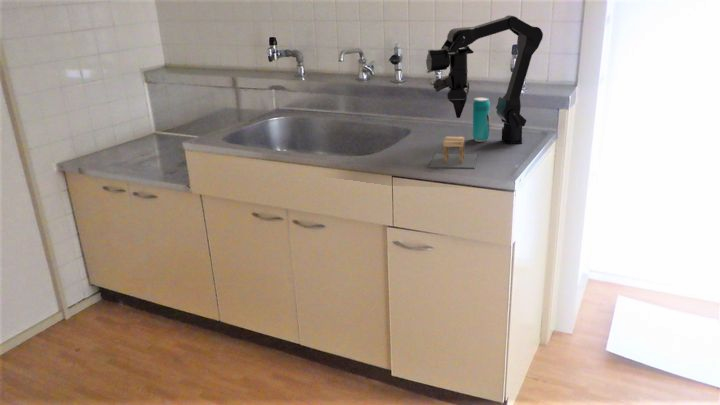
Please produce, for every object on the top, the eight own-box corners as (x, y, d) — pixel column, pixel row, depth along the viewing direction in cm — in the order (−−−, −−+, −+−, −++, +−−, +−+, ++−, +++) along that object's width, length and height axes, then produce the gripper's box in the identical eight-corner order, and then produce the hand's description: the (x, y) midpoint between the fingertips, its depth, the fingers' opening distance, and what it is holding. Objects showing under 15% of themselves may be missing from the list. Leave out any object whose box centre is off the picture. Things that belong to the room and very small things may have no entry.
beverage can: (489, 142, 212) (489, 100, 206) (472, 142, 213) (472, 100, 208) (489, 138, 217) (489, 96, 212) (473, 138, 218) (473, 97, 213)
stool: (445, 157, 198) (445, 136, 195) (464, 157, 196) (464, 136, 194) (443, 162, 192) (443, 141, 190) (462, 163, 191) (462, 142, 188)
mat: (477, 155, 199) (477, 154, 199) (474, 168, 186) (474, 167, 186) (435, 154, 203) (435, 153, 202) (429, 167, 190) (429, 166, 190)
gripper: (436, 64, 208) (438, 108, 214) (431, 74, 192) (432, 121, 197) (469, 63, 206) (469, 107, 212) (466, 73, 189) (466, 121, 195)
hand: (459, 114), depth 204 cm, fingers open, 9 cm apart
